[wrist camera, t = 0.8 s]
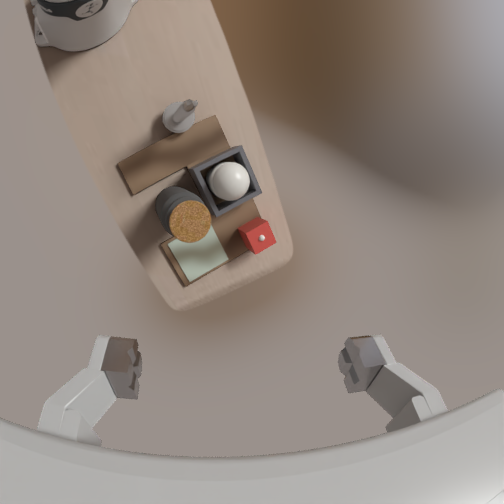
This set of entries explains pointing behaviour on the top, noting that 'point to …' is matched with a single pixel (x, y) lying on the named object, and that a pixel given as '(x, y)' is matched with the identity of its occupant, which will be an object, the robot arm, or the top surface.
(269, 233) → the red die
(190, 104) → the screw
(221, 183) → the dome cap
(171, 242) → the game board
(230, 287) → the top surface
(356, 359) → the robot arm
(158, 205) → the bottle
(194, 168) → the dome collar
